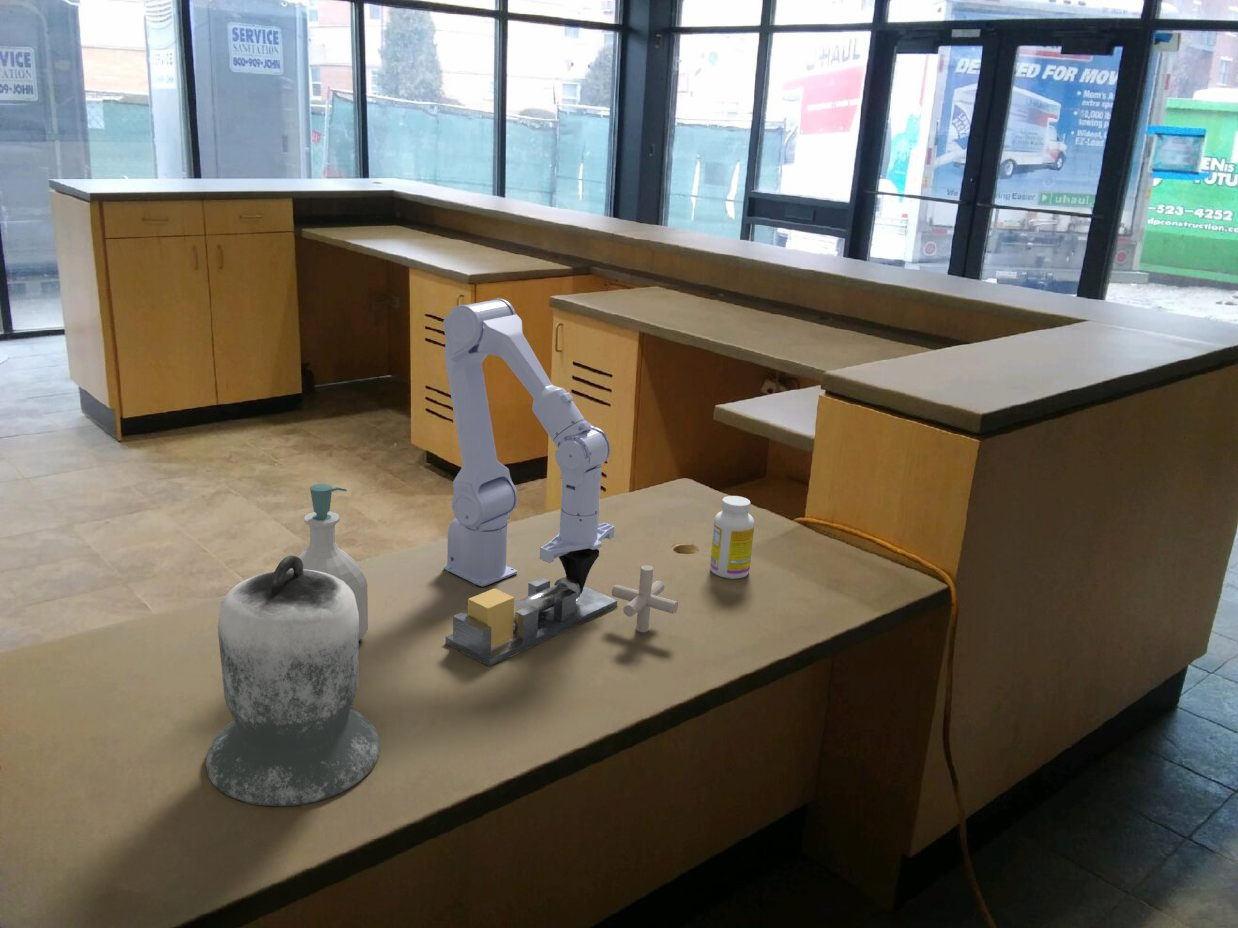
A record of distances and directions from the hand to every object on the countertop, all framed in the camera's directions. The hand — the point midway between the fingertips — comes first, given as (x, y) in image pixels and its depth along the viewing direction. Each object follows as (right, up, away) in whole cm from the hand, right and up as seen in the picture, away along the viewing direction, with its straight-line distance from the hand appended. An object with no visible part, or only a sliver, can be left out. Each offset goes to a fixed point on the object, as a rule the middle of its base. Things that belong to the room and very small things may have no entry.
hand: (575, 591), depth 164 cm
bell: (-31, -14, -40) cm, 53 cm away
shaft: (-5, -3, -5) cm, 8 cm away
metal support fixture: (-6, -4, -6) cm, 9 cm away
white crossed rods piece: (+10, -5, -5) cm, 12 cm away
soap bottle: (-35, -5, -14) cm, 37 cm away
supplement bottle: (+25, +1, +17) cm, 30 cm away
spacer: (-12, -5, -13) cm, 18 cm away
